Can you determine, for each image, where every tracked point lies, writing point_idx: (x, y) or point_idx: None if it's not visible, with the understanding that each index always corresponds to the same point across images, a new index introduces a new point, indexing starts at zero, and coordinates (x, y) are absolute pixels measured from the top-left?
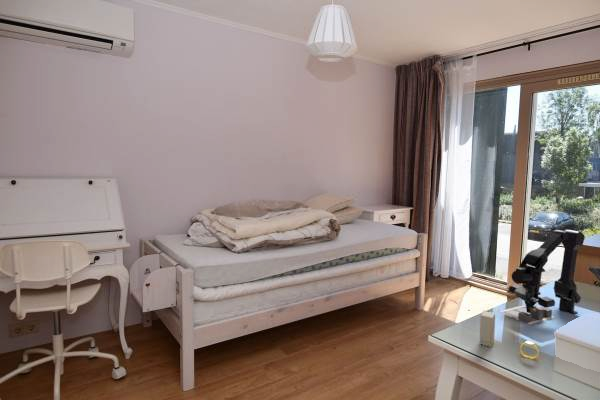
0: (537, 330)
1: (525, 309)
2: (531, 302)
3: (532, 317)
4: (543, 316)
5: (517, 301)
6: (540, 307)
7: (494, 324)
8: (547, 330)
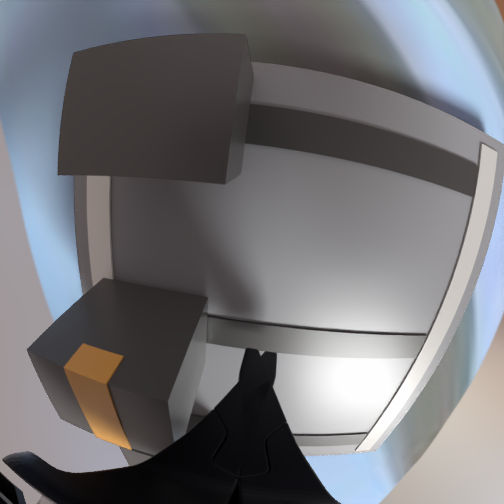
0: (50, 95)
1: (340, 420)
2: (19, 459)
3: (172, 292)
4: None
5: (411, 457)
6: None
7: None
8: (22, 180)
